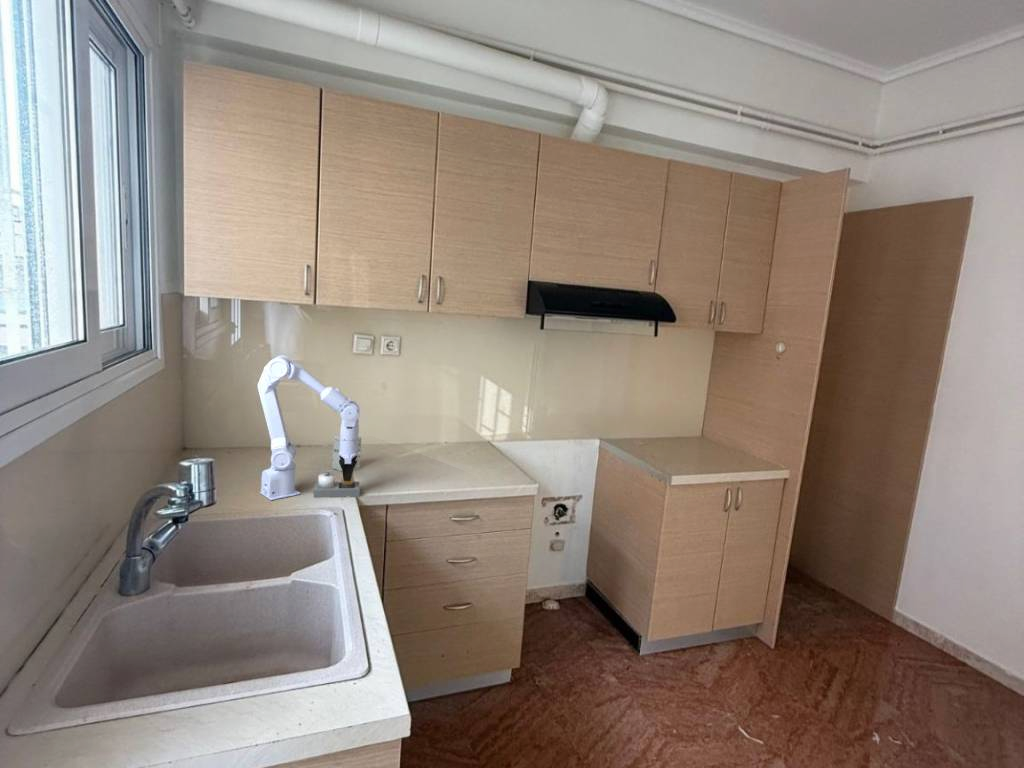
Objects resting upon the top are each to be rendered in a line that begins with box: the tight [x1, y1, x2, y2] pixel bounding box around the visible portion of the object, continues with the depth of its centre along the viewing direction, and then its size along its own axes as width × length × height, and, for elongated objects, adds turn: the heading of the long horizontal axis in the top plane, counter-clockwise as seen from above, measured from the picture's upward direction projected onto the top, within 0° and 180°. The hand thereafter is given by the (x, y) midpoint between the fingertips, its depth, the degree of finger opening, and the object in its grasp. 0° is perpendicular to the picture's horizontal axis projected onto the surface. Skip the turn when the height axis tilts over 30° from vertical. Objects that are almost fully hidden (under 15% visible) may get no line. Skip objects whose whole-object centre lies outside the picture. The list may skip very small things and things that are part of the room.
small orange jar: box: [340, 469, 355, 485], centre depth 171 cm, size 4×4×6 cm
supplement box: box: [331, 434, 362, 472], centre depth 196 cm, size 7×7×13 cm
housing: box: [313, 471, 360, 498], centre depth 170 cm, size 14×8×7 cm, turn 107°
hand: (347, 478), depth 171 cm, fingers closed on small orange jar, 4 cm apart
